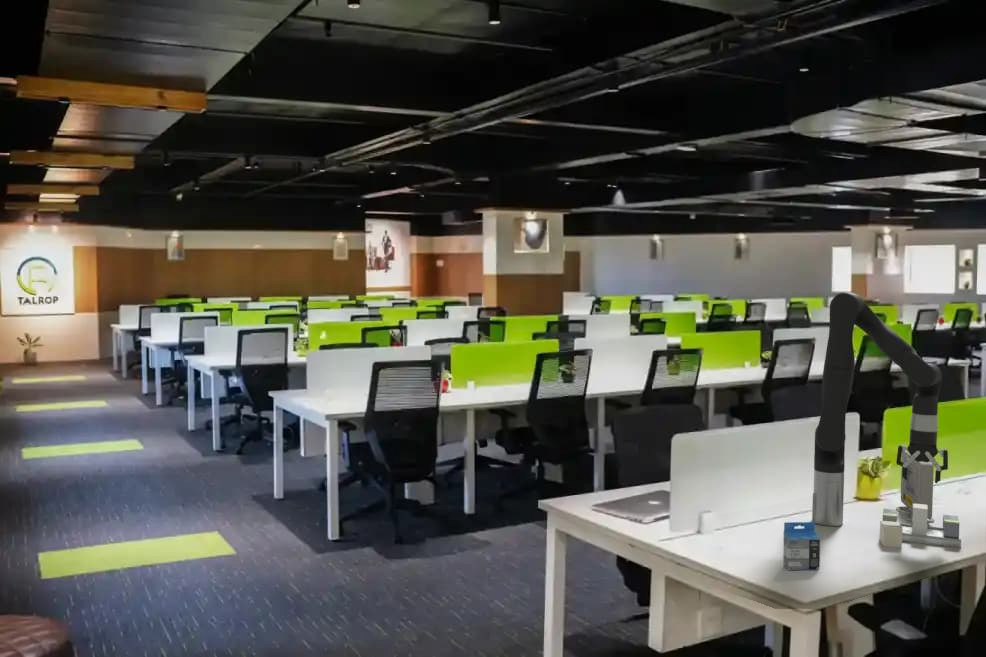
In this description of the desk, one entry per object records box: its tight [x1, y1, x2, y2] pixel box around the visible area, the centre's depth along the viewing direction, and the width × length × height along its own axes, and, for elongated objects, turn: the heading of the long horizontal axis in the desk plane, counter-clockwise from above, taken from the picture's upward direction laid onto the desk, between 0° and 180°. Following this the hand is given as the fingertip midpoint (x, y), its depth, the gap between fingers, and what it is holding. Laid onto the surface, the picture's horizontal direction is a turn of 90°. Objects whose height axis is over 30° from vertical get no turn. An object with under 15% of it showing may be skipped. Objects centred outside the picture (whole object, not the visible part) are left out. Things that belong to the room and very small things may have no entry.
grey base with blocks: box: [882, 508, 962, 549], centre depth 277 cm, size 22×13×7 cm, turn 66°
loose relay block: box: [879, 520, 903, 548], centre depth 270 cm, size 5×7×6 cm
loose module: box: [911, 503, 928, 535], centre depth 277 cm, size 4×6×8 cm
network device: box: [895, 450, 935, 524], centre depth 304 cm, size 26×9×20 cm, turn 168°
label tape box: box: [782, 521, 821, 571], centre depth 245 cm, size 9×4×12 cm, turn 93°
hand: (920, 481), depth 276 cm, fingers open, 8 cm apart
